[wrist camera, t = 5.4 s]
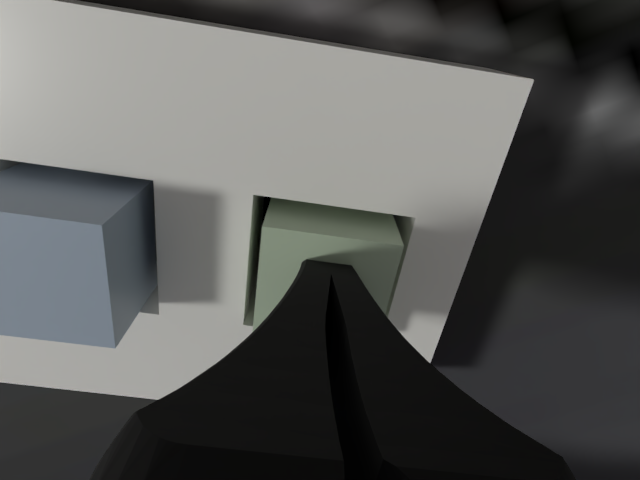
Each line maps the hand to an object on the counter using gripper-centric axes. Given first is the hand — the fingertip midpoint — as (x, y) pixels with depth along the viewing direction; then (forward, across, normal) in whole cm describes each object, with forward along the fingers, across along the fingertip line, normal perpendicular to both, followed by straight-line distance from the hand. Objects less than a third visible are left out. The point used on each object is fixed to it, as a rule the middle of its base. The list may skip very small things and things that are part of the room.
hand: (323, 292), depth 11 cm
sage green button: (+3, 0, 0) cm, 3 cm away
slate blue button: (+2, +7, 0) cm, 7 cm away
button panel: (+4, +7, 0) cm, 8 cm away
